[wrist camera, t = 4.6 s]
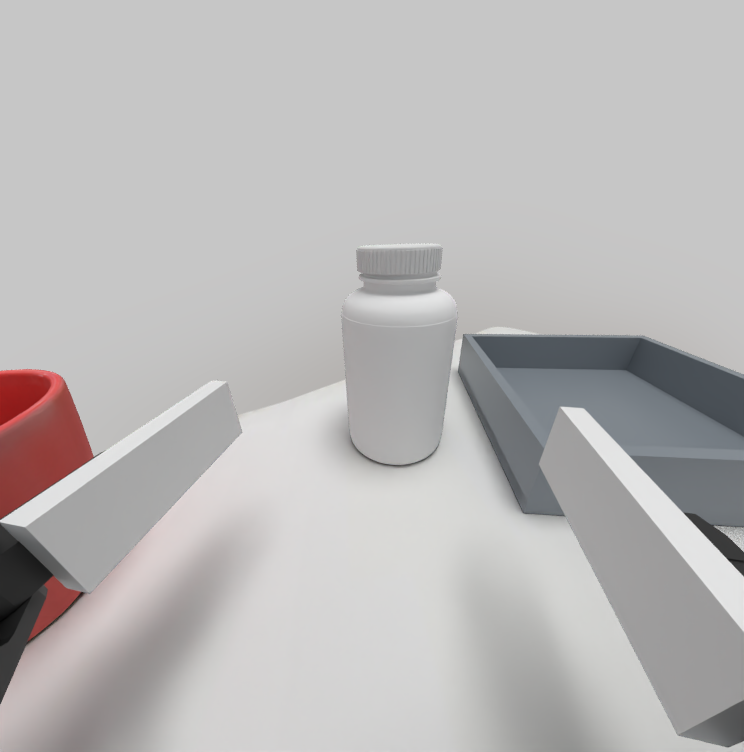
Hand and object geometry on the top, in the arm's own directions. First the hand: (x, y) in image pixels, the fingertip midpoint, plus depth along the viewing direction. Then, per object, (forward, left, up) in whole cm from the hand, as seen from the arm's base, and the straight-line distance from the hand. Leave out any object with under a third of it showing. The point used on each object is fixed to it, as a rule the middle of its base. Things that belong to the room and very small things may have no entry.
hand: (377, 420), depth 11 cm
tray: (-19, -13, -9) cm, 24 cm away
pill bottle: (-1, -10, -9) cm, 13 cm away
